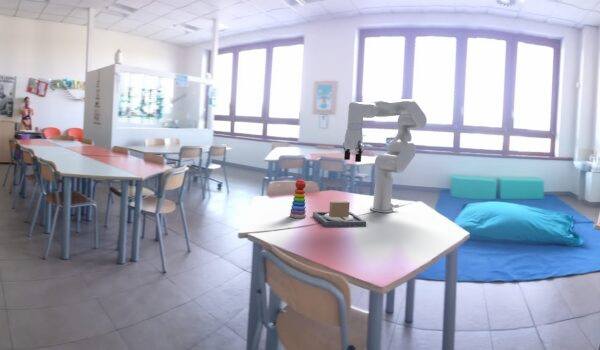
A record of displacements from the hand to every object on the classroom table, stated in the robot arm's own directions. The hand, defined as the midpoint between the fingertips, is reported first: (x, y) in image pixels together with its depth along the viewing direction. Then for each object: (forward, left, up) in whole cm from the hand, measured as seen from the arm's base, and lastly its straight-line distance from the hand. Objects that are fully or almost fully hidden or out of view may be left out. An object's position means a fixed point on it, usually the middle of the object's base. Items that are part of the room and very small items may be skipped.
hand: (352, 160), depth 201 cm
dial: (+10, +12, -27) cm, 31 cm away
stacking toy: (+28, +3, -28) cm, 40 cm away
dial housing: (+10, +12, -28) cm, 32 cm away
